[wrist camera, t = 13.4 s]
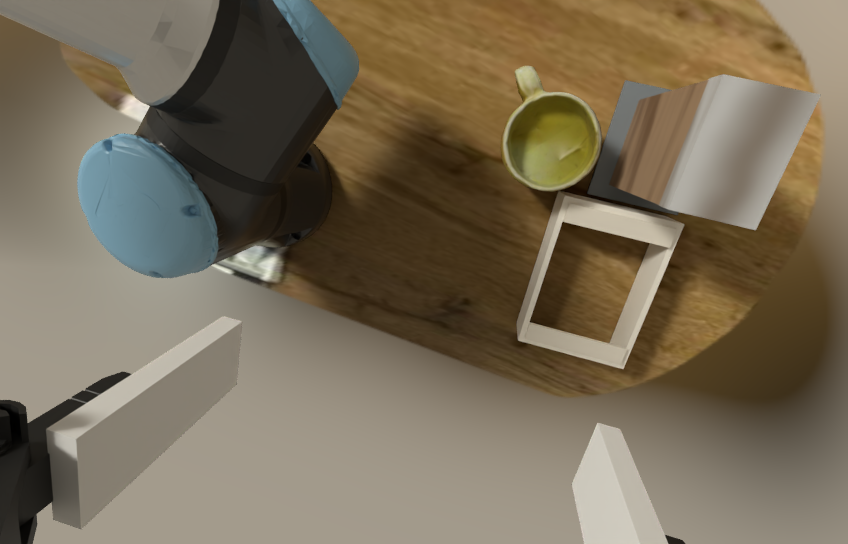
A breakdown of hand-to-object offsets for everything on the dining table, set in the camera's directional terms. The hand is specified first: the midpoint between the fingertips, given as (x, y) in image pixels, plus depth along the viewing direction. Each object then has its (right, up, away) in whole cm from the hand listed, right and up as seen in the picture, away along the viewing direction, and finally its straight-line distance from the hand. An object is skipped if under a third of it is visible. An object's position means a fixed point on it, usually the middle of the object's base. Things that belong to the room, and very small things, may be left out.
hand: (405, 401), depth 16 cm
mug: (+14, +20, +33) cm, 41 cm away
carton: (+20, +5, +36) cm, 42 cm away
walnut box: (+25, +18, +31) cm, 44 cm away
